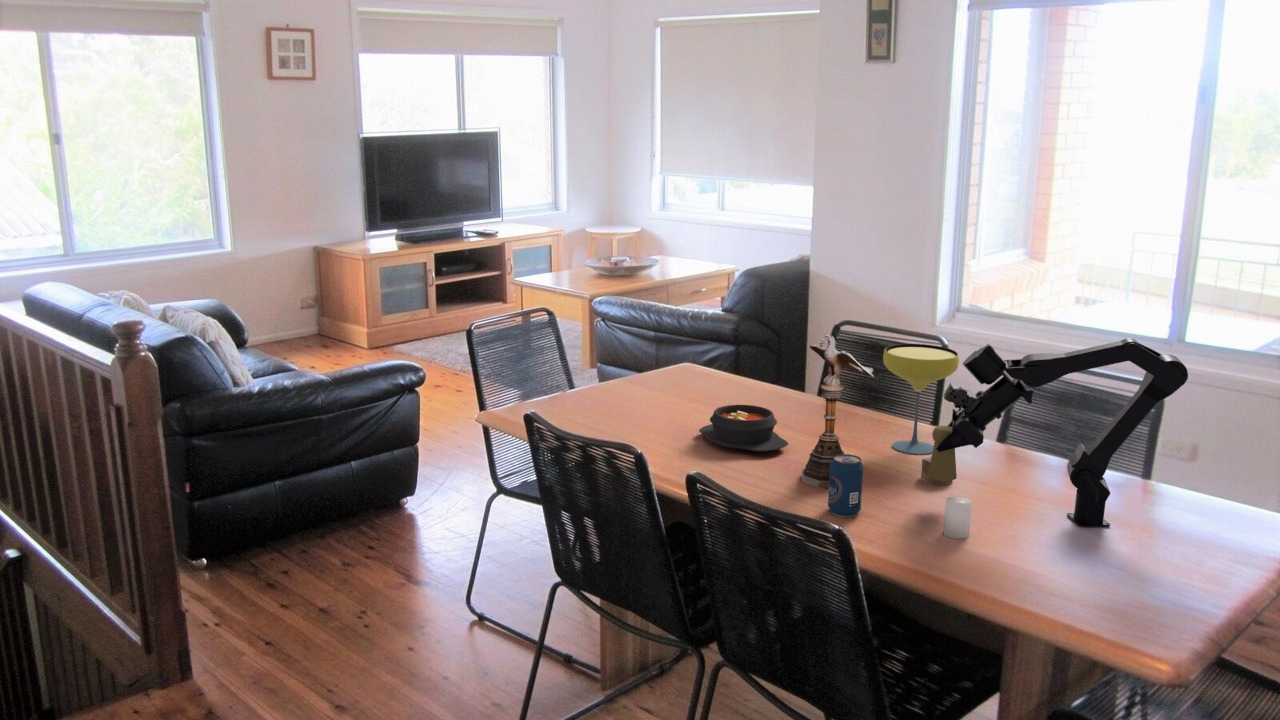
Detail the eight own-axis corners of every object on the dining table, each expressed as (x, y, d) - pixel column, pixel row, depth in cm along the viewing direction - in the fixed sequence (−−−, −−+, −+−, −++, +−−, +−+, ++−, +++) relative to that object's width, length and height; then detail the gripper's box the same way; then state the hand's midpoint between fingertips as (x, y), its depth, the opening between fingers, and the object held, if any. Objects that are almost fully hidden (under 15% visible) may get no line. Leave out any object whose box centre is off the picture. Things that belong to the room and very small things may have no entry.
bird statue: (831, 462, 255) (839, 320, 247) (875, 476, 246) (885, 329, 237) (785, 476, 245) (792, 328, 237) (829, 492, 235) (837, 338, 227)
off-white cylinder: (972, 538, 211) (975, 505, 209) (948, 538, 211) (950, 506, 209) (964, 529, 216) (966, 496, 214) (939, 529, 215) (942, 496, 214)
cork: (957, 481, 223) (961, 432, 221) (928, 479, 224) (931, 430, 222) (955, 472, 229) (959, 423, 226) (926, 470, 230) (930, 422, 228)
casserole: (804, 449, 265) (805, 416, 263) (752, 464, 254) (753, 430, 252) (733, 425, 284) (734, 395, 282) (682, 438, 272) (683, 407, 270)
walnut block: (952, 483, 242) (954, 462, 241) (934, 486, 240) (936, 465, 239) (938, 476, 247) (940, 456, 246) (920, 479, 245) (922, 458, 244)
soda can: (821, 508, 226) (824, 455, 223) (849, 504, 228) (852, 451, 225) (838, 520, 219) (841, 465, 217) (867, 516, 222) (870, 461, 219)
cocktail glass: (876, 455, 260) (883, 357, 255) (878, 434, 278) (884, 341, 272) (952, 462, 256) (961, 362, 251) (949, 440, 273) (957, 346, 268)
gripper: (968, 361, 229) (912, 407, 234) (970, 382, 212) (910, 431, 217) (1003, 399, 229) (947, 444, 234) (1008, 423, 211) (947, 471, 217)
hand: (937, 446), depth 225 cm, fingers closed on cork, 5 cm apart
